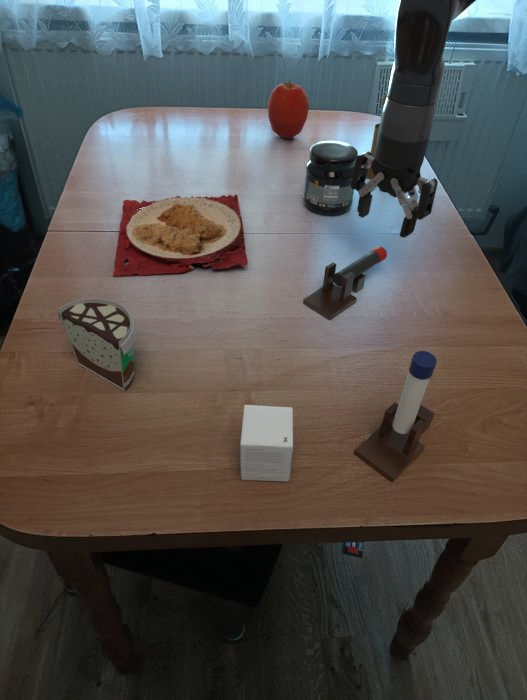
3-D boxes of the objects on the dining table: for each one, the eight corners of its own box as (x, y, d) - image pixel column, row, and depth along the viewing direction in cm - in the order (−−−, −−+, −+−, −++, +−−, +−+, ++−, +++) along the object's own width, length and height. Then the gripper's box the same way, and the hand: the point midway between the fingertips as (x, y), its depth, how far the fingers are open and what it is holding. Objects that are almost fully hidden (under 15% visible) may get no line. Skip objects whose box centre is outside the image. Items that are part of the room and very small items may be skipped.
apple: (266, 143, 137) (268, 85, 127) (267, 127, 144) (269, 71, 135) (306, 145, 137) (312, 87, 127) (305, 129, 144) (310, 73, 135)
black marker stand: (343, 277, 97) (348, 249, 93) (370, 292, 94) (376, 263, 90) (302, 303, 91) (305, 274, 87) (329, 320, 88) (334, 291, 84)
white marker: (421, 347, 61) (408, 358, 59) (441, 359, 59) (428, 370, 58) (399, 415, 69) (387, 426, 68) (416, 426, 68) (404, 438, 66)
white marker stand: (402, 408, 75) (412, 378, 71) (439, 433, 72) (452, 404, 68) (353, 453, 69) (361, 424, 65) (392, 483, 66) (402, 454, 62)
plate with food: (237, 203, 115) (237, 187, 113) (248, 270, 97) (248, 253, 94) (124, 207, 113) (122, 191, 111) (112, 276, 94) (109, 259, 92)
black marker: (373, 256, 97) (376, 243, 95) (385, 262, 96) (388, 249, 94) (331, 283, 91) (333, 270, 89) (343, 290, 90) (345, 277, 88)
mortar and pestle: (355, 172, 127) (368, 92, 115) (373, 165, 131) (387, 86, 118) (377, 182, 124) (393, 101, 111) (395, 174, 127) (412, 94, 115)
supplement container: (330, 188, 121) (337, 135, 113) (362, 209, 115) (371, 154, 107) (292, 200, 116) (297, 145, 108) (323, 222, 110) (330, 166, 102)
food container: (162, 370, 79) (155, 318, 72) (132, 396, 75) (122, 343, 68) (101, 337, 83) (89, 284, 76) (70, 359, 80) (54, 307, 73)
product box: (290, 442, 70) (294, 406, 65) (289, 483, 66) (294, 447, 61) (243, 440, 70) (243, 403, 65) (239, 480, 66) (239, 444, 61)
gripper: (460, 138, 78) (431, 234, 90) (380, 109, 85) (363, 202, 97) (432, 152, 74) (406, 251, 86) (351, 120, 81) (336, 216, 93)
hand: (383, 225), depth 91 cm, fingers open, 8 cm apart
